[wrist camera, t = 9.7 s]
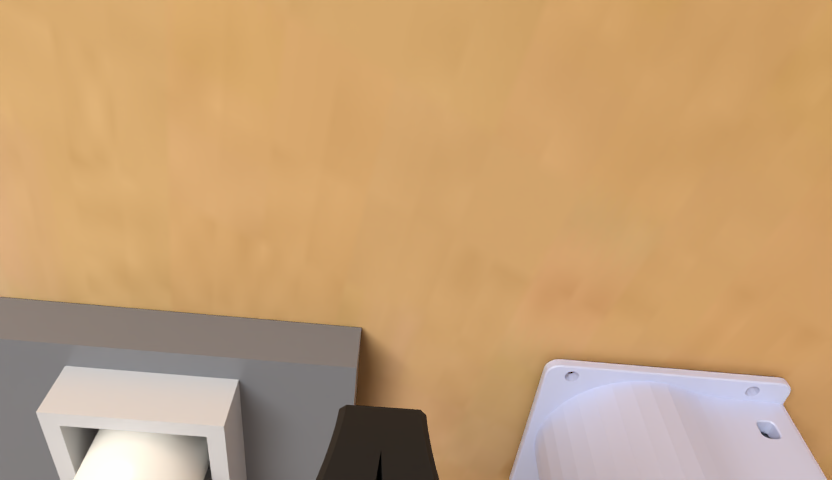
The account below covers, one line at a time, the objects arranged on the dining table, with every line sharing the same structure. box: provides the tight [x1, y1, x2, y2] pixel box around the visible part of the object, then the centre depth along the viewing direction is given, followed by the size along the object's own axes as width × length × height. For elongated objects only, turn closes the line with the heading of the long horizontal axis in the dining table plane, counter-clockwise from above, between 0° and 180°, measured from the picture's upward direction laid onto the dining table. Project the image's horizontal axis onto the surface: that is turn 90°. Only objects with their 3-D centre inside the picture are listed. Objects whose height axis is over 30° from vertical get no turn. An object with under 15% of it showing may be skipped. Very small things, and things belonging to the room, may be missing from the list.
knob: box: [73, 429, 210, 480], centre depth 22 cm, size 4×4×4 cm
